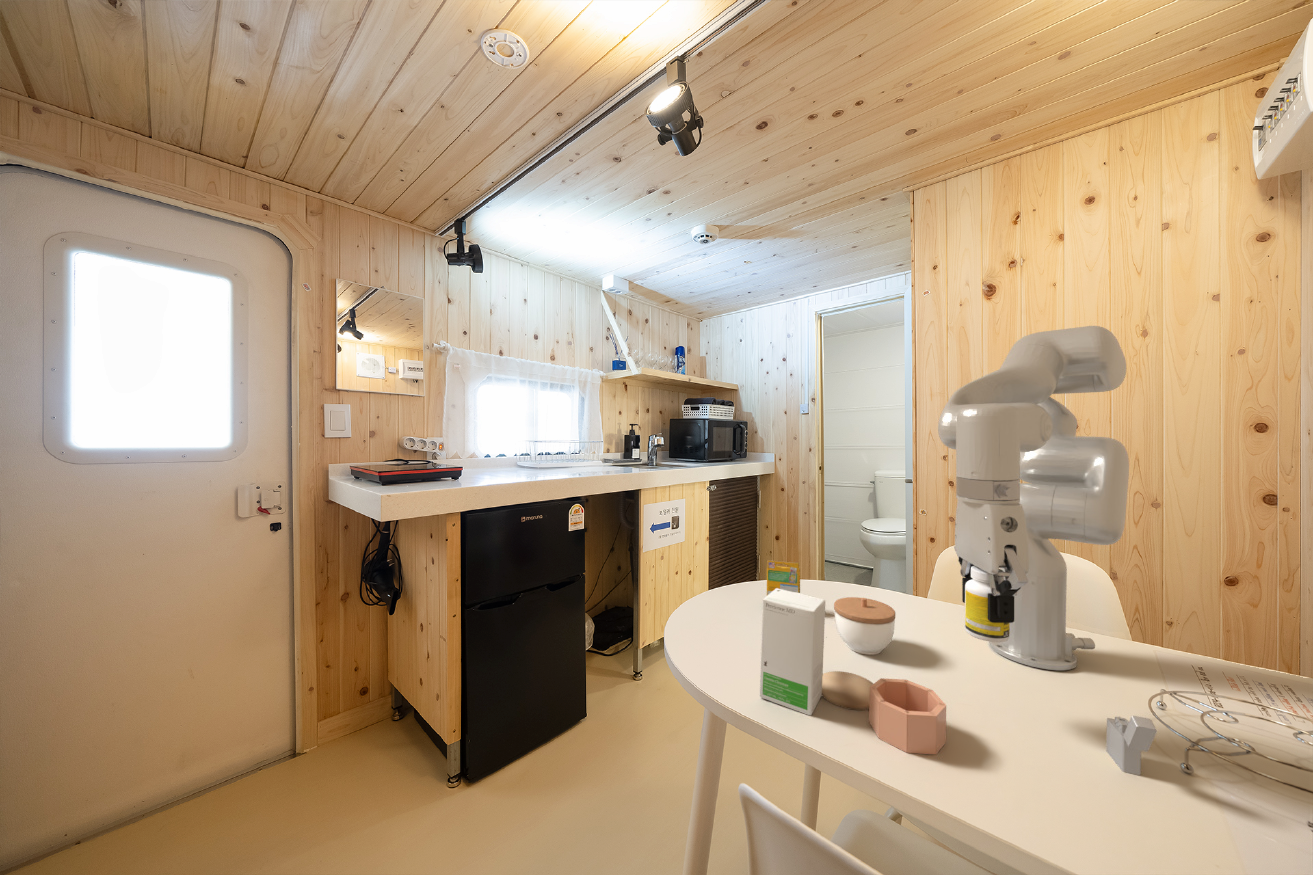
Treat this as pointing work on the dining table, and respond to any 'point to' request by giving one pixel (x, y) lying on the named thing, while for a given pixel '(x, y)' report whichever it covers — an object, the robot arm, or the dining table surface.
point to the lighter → (1129, 741)
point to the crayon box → (783, 576)
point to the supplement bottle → (982, 609)
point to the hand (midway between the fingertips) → (987, 611)
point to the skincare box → (792, 650)
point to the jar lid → (846, 690)
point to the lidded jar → (864, 624)
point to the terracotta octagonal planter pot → (907, 716)
